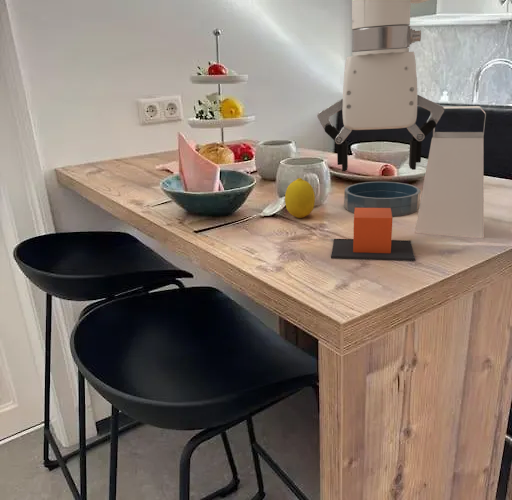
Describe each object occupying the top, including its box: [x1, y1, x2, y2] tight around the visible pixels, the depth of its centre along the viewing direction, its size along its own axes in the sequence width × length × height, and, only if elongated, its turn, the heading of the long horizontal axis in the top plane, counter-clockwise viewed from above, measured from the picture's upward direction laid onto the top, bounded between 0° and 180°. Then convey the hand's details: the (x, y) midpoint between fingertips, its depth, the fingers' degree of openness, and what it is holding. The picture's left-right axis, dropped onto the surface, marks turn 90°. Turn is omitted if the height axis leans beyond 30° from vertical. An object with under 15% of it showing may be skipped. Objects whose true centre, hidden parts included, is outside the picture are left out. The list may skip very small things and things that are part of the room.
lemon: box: [284, 177, 316, 219], centre depth 93 cm, size 6×6×8 cm
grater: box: [414, 105, 487, 239], centre depth 82 cm, size 10×10×20 cm
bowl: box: [343, 181, 422, 217], centre depth 98 cm, size 14×14×4 cm
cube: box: [352, 208, 394, 253], centre depth 76 cm, size 6×6×6 cm
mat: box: [330, 238, 416, 262], centre depth 77 cm, size 12×9×1 cm
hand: (378, 168), depth 73 cm, fingers open, 9 cm apart
